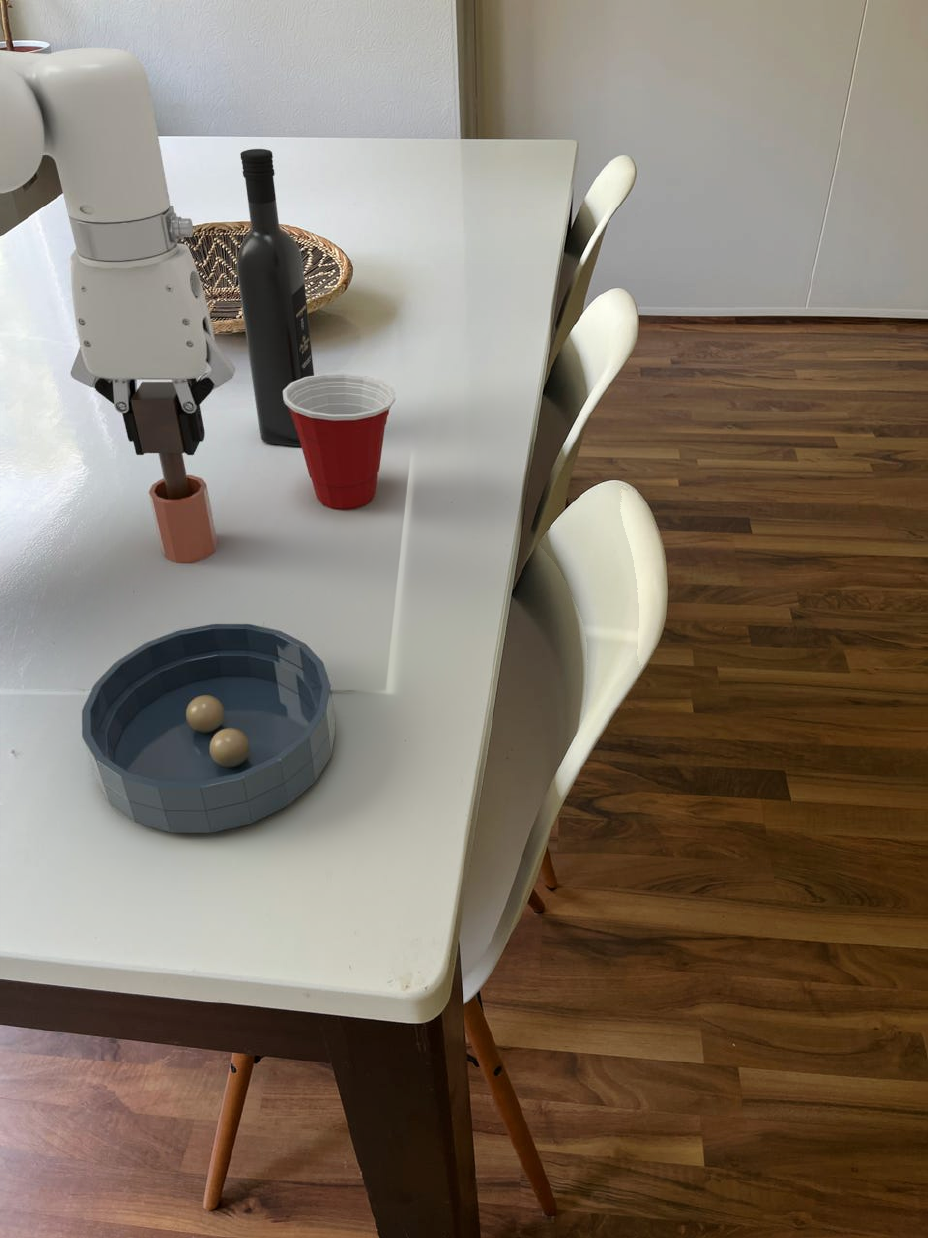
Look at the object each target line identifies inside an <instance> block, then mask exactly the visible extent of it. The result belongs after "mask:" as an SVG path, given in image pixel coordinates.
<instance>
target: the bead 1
mask: <svg viewBox="0 0 928 1238" xmlns="http://www.w3.org/2000/svg"><path fill="white" fill-rule="evenodd" d="M224 716H225V711H224V707H223V705H222V703H221V702H220V701H219V700H218V699H217V698H215V697H213V696H209V695H202V696H199V697H196V698H195V699H193V700H192V701H191V702H190V703H189V705H188V707H187V710H186V719H187V722H188V724H189V726H190V727H191V728H192V729H194V730H195V731H197V732H200V733H209V732H212V731H215V730H216V729H217V728H219V727H220V725H221V724H222V722H223V720H224Z"/></svg>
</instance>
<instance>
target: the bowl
mask: <svg viewBox="0 0 928 1238" xmlns="http://www.w3.org/2000/svg"><path fill="white" fill-rule="evenodd" d="M202 695H209V696H213V697H215V698H217V699H218V700H219V701H220V702H221V703H222V705H223V707H224V711H225V716H224V720H223V722H222V724H221V725H220V727H219V728H217V729H216V730H215V731H212V732H209V733H200V732H197V731H195V730H194V729H192V728H191V727H190V726H189V724H188V722H187V719H186V710H187V707H188V705H189V703H190V702H191V701H192V700H193V699H195V698H196V697H199V696H202ZM335 721H336V720H335V713H334V704H333V694H332V687H331V683H330V679H329V675H328V673H327V669H326V666H325V663H324V661H323V660H321V658H320V657H319V656H318V655H317V654H316V653H315V652H314V651H313V650H312V649H311V648H310V647H309V645H308V644H307V643H305V642H303V641H301V640H299V639H297V638H296V637H293V636H292V635H290V634H288V633H285V632H283V631H282V630H278V629H274V628H269V627H266V626H265V627H264V626H259V625H256V624H251V623H210V624H206V625H200V626H196V627H195V626H194V627H190V628H184V629H179V630H175V631H173V632H171V633H168V634H165V635H162V636H160V637H158V638H154V639H153V640H150V641H147V642H145V643H143V644H142V645H140V646H138V647H137V648H135V649H134V650H132V651H131V652H128V653H127V654H126V655H124V656H123V657H121V658H119V659H118V660H116V661H115V662H114V663H113V664H112V665H111V666H110V667H109V668H108V669H107V670H106V671H105V672H104V674H102V676H101V677H99V679H98V680H97V681H96V682H95V683H94V685H92V688H91V690H90V693H89V694H88V697H87V698H86V701H85V703H84V705H83V707H82V709H81V737H82V741H83V743H84V747H85V749H86V753H87V755H88V756H87V757H88V759H89V761H90V765H91V767H92V770H93V773H94V776H95V779H96V782H97V784H98V785H99V787H100V790H102V793H103V794H104V796H105V798H106V799H107V801H108V803H109V805H110V806H112V807H113V808H115V809H116V810H117V811H119V812H120V813H122V814H123V815H124V816H126V817H127V818H129V819H130V820H131V821H133V822H134V823H136V824H140V825H142V826H147V827H150V828H154V829H157V830H161V831H165V832H167V833H197V834H198V833H204V834H205V833H216V832H219V831H224V830H229V829H233V828H237V827H241V826H246V825H250V824H253V823H256V822H257V821H259V820H261V819H263V818H265V817H268V816H270V815H271V814H273V813H276V812H278V811H280V810H281V809H284V808H285V807H287V806H289V805H290V804H291V803H293V802H294V801H295V800H296V799H297V798H298V797H300V795H302V794H303V793H304V792H305V791H306V790H308V789H309V788H310V787H311V786H312V785H314V783H316V781H317V780H318V779H319V777H320V775H321V773H322V771H323V770H324V768H325V767H326V765H327V763H328V761H329V760H330V758H331V757H332V754H333V748H334V741H335V734H336V722H335ZM227 728H234V729H237V730H239V731H241V732H243V733H244V734H245V735H246V737H247V738H248V741H249V745H250V750H249V754H248V756H247V758H246V759H245V761H244V762H243V763H241V764H240V765H238V766H236V767H231V768H227V767H222V766H220V765H218V764H217V763H216V762H215V761H214V760H213V759H212V757H211V755H210V742H211V740H212V738H213V737H214V735H215V734H216V733H218V732H219V731H221V730H223V729H227Z"/></svg>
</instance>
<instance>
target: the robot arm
mask: <svg viewBox="0 0 928 1238" xmlns="http://www.w3.org/2000/svg"><path fill="white" fill-rule="evenodd" d="M43 156H49V157H51V158H52V159H53V160H54V162H55V166H56V170H57V173H58V178H59V183H60V187H61V191H62V195H63V199H64V203H65V208H66V211H67V212H66V213H67V214H68V220H69V224H70V228H71V232H72V237H73V241H74V245H75V249H74V250H73V252H72V253H71V255H70V280H71V281H70V282H71V296H72V305H73V313H74V319H75V326H76V327H75V328H76V331H77V336H78V343H79V349H78V352H77V354H76V357H75V359H74V362H73V365H72V367H71V369H70V376H71V378H73V380H75V381H77V382H80V383H82V384H83V385H85V386H88V388H92V389H95V391H96V392H97V393H98V394H100V395H101V396H102V397H103V398H105V399H106V400H107V401H109V402H110V403H111V404H113V405H114V406H113V407H114V409H115V410H116V411H117V412H118V413H120V414H122V419H123V423H124V428H125V432H126V436H127V439H128V441H129V442H130V443H132V442H133V446H134V451H135V455H136V456H144V455H145V454H146V453H143V452H142V447H141V443H140V439H139V434H138V430H137V425H136V421H135V417H134V412H133V408H132V403H131V399H132V397H133V396H134V394H135V393H136V391H137V389H138V380H142V381H143V380H145V381H147V380H151V381H154V380H163V381H164V380H166V381H167V380H168V381H169V380H171V382H173V384H174V387H175V390H176V393H177V395H178V398H179V401H180V408H181V410H180V412H179V414H178V419H179V424H180V429H181V435H182V440H183V445H184V450H185V452H184V454H186V455H187V456H194V455H195V453H196V451H197V449H198V447H199V444H200V443H202V442H204V440H205V435H206V434H205V433H206V432H205V427H204V422H203V421H204V420H203V415H202V409H201V404H202V403H203V402H204V401H205V400H206V399H207V397H208V396H209V395H210V394H211V393H212V391H214V390H215V389H217V388H219V387H221V386H223V385H224V384H226V383H227V382H229V381H231V380H232V379H233V377H234V374H235V372H236V367H235V365H234V364H233V362H232V361H231V360H230V358H229V357H228V356H227V355H226V354H225V352H224V351H223V350H222V349H221V347H220V346H219V345H218V344H217V342H216V338H215V332H214V327H213V323H212V318H211V315H210V310H209V307H208V302H207V299H206V296H205V291H204V289H203V284H202V280H201V278H200V274H199V271H198V268H197V265H196V262H195V259H194V257H193V255H192V253H191V250H190V247H189V246H188V245H187V244H185V243H179V240H182V239H184V238H192V237H193V236H194V226H193V220H192V219H191V218H190V217H189V218H186V217H185V218H182V217H181V216H178V215H177V213H176V212H175V209H174V208H175V207H174V206H173V205H171V200H170V195H169V191H168V184H167V178H166V173H165V167H164V162H163V156H162V150H161V145H160V139H159V132H158V127H157V121H156V115H155V111H154V104H153V99H152V92H151V88H150V82H149V78H148V74H147V71H146V68H145V66H144V64H143V62H142V61H141V60H140V58H139V57H138V56H137V55H135V54H134V53H132V52H131V51H127V50H124V49H121V48H113V47H80V48H70V49H69V48H68V49H64V50H59V51H54V52H52V53H38V52H23V51H11V50H1V49H0V194H5V193H9V192H13V191H15V190H17V189H19V188H21V187H22V186H24V185H26V183H28V182H29V181H30V180H31V179H32V178H33V177H34V175H35V174H36V173H37V172H38V169H39V167H40V165H41V163H42V159H43ZM207 364H208V366H209V367H210V371H208V372H206V371H207Z"/></svg>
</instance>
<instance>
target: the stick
mask: <svg viewBox="0 0 928 1238" xmlns="http://www.w3.org/2000/svg"><path fill="white" fill-rule="evenodd" d="M131 403H132V408H133V412H134V417H135V421H136V425H137V430H138V434H139V439H140V443H141V447H142V452H143V453H145V454H158V458H159V462H160V467H161V471H162V475H163V476H162V477H163V478H164V481H165V486H166V490H167V495H168V500H180V499H183V498H187V497H191V495H190V490H189V485H188V480H187V475H188V474H187V471H186V465H185V460H184V455H183V454H185V450H184V445H183V440H182V435H181V429H180V424H179V419H178V414H179V412H180V410H181V408H180V401H179V398H178V395H177V393H176V390H175V387H174V384H173V381H142V382H141V383H140V384H139V386H138V387H137V391H136V393H135V394H134V396H133V397H132V399H131Z"/></svg>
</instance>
